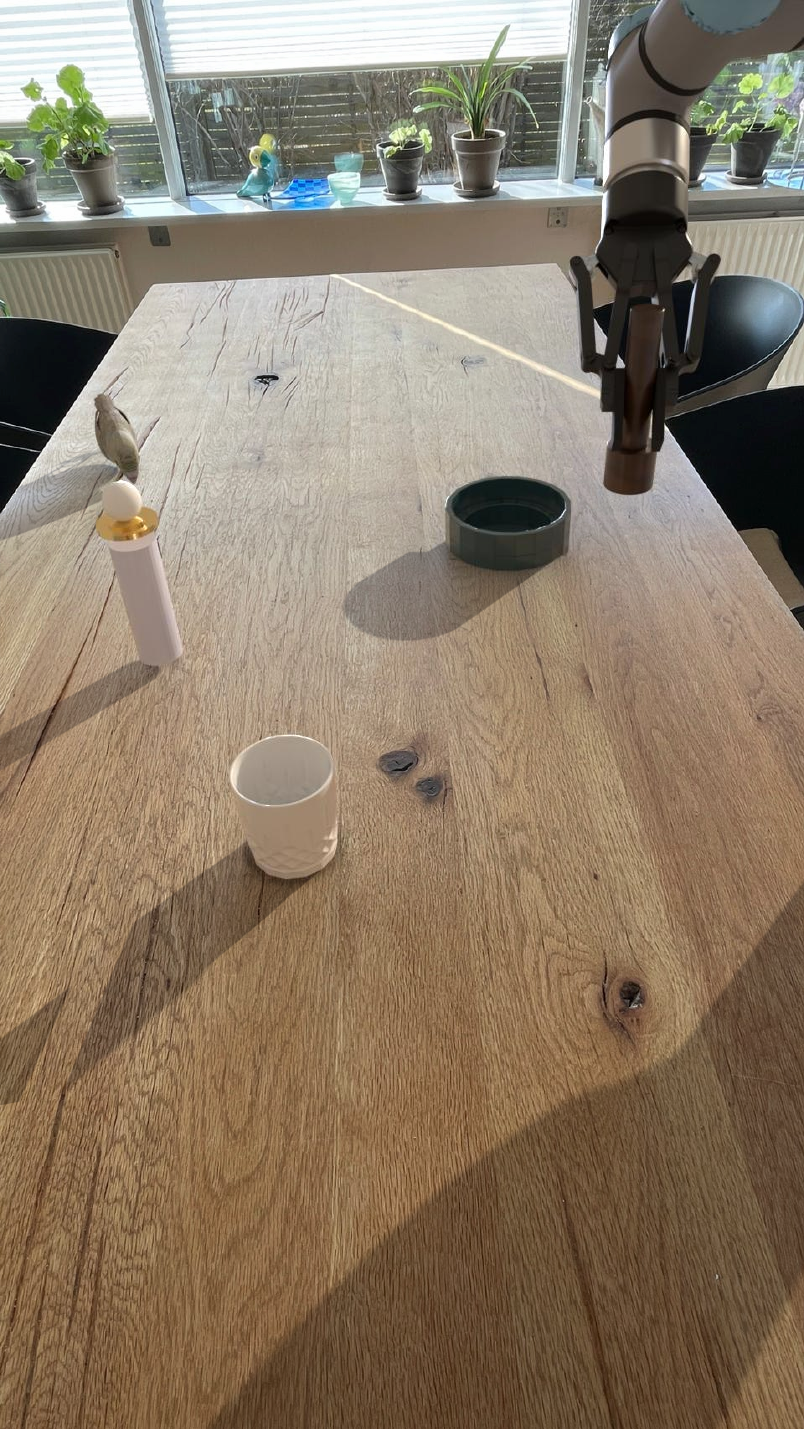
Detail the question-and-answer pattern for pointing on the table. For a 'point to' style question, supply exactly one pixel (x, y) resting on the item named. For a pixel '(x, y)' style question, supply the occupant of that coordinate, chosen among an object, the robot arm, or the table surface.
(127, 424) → the decorative bird
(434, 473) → the table surface
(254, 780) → the white cup
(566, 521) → the bowl
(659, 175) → the robot arm
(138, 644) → the perfume bottle
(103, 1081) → the table surface
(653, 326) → the brown pestle
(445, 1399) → the table surface
